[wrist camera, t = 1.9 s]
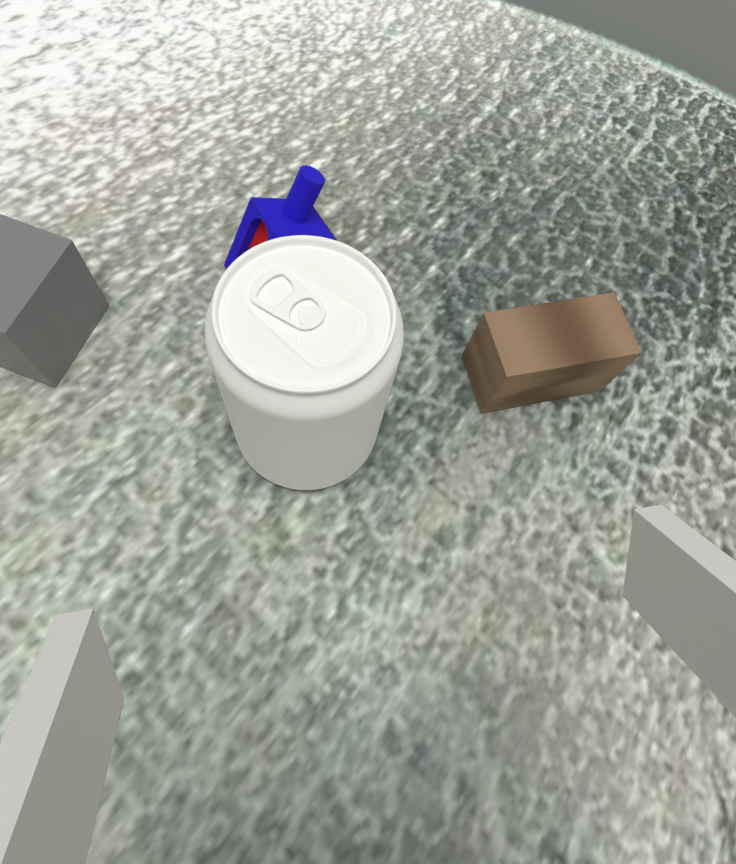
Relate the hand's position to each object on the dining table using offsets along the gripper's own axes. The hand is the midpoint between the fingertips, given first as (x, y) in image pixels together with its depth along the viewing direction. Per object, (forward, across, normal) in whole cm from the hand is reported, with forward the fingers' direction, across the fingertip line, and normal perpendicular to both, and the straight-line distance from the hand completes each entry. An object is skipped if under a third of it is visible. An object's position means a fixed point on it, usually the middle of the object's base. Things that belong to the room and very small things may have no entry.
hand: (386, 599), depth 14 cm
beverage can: (+20, 0, -4) cm, 20 cm away
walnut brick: (+21, +14, -3) cm, 25 cm away
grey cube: (+26, -15, +3) cm, 30 cm away
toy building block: (+28, 0, +4) cm, 28 cm away
